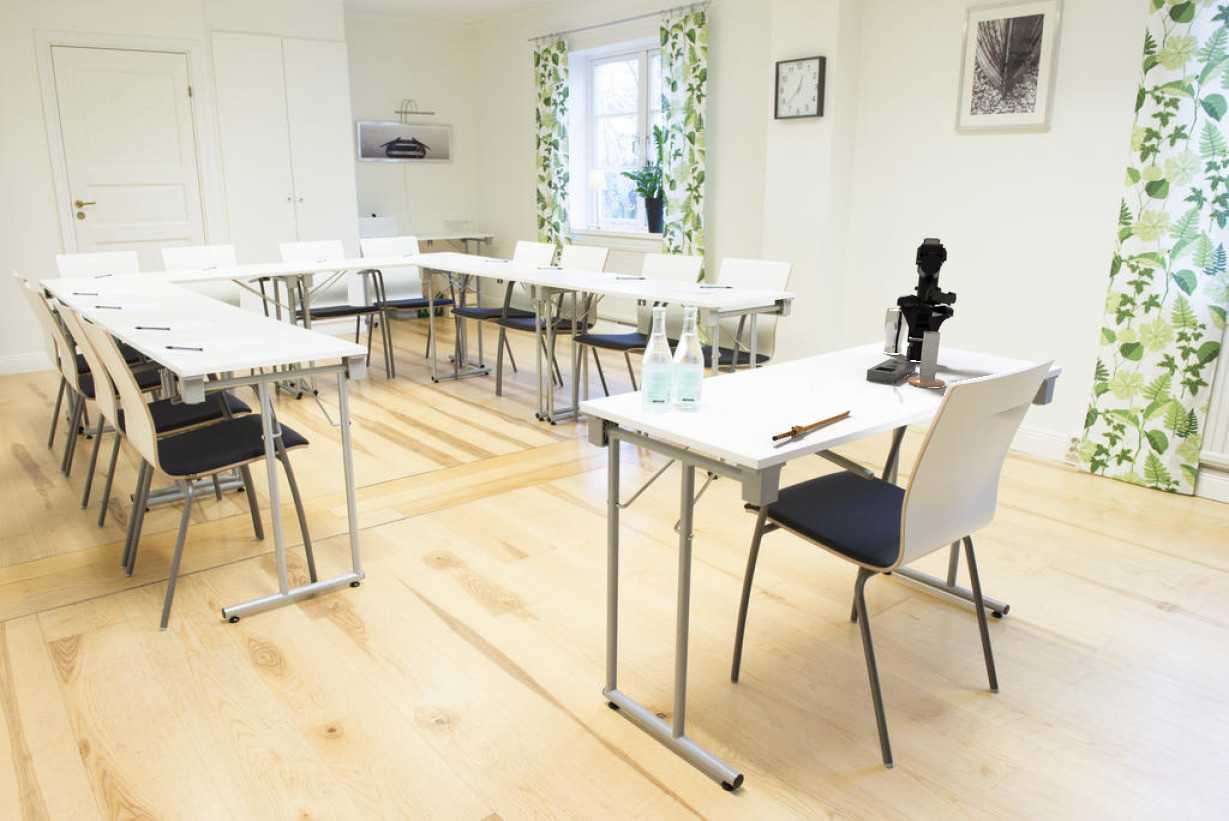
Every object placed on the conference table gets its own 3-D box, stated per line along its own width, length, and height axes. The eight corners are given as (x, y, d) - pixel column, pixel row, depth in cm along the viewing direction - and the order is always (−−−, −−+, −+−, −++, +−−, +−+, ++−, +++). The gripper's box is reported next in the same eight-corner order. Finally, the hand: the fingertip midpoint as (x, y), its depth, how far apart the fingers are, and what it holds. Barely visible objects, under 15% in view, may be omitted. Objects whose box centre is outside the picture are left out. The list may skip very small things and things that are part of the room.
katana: (851, 420, 212) (852, 409, 212) (776, 444, 187) (777, 432, 186) (846, 419, 213) (847, 408, 212) (771, 443, 188) (772, 431, 187)
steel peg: (918, 378, 248) (924, 331, 244) (933, 379, 247) (939, 332, 243) (919, 381, 244) (925, 333, 241) (934, 382, 243) (940, 334, 240)
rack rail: (889, 368, 266) (890, 358, 266) (915, 371, 262) (916, 361, 261) (866, 379, 250) (867, 369, 249) (893, 383, 246) (894, 373, 245)
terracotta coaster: (935, 380, 251) (936, 377, 251) (950, 388, 242) (951, 385, 241) (902, 380, 251) (902, 376, 250) (916, 388, 241) (916, 384, 241)
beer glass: (900, 352, 292) (905, 308, 288) (905, 356, 285) (910, 311, 281) (879, 351, 292) (884, 307, 289) (884, 355, 286) (888, 310, 282)
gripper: (928, 272, 246) (922, 325, 245) (971, 287, 255) (965, 338, 254) (898, 278, 256) (892, 329, 255) (940, 292, 265) (935, 341, 264)
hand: (922, 334), depth 256 cm, fingers open, 9 cm apart
